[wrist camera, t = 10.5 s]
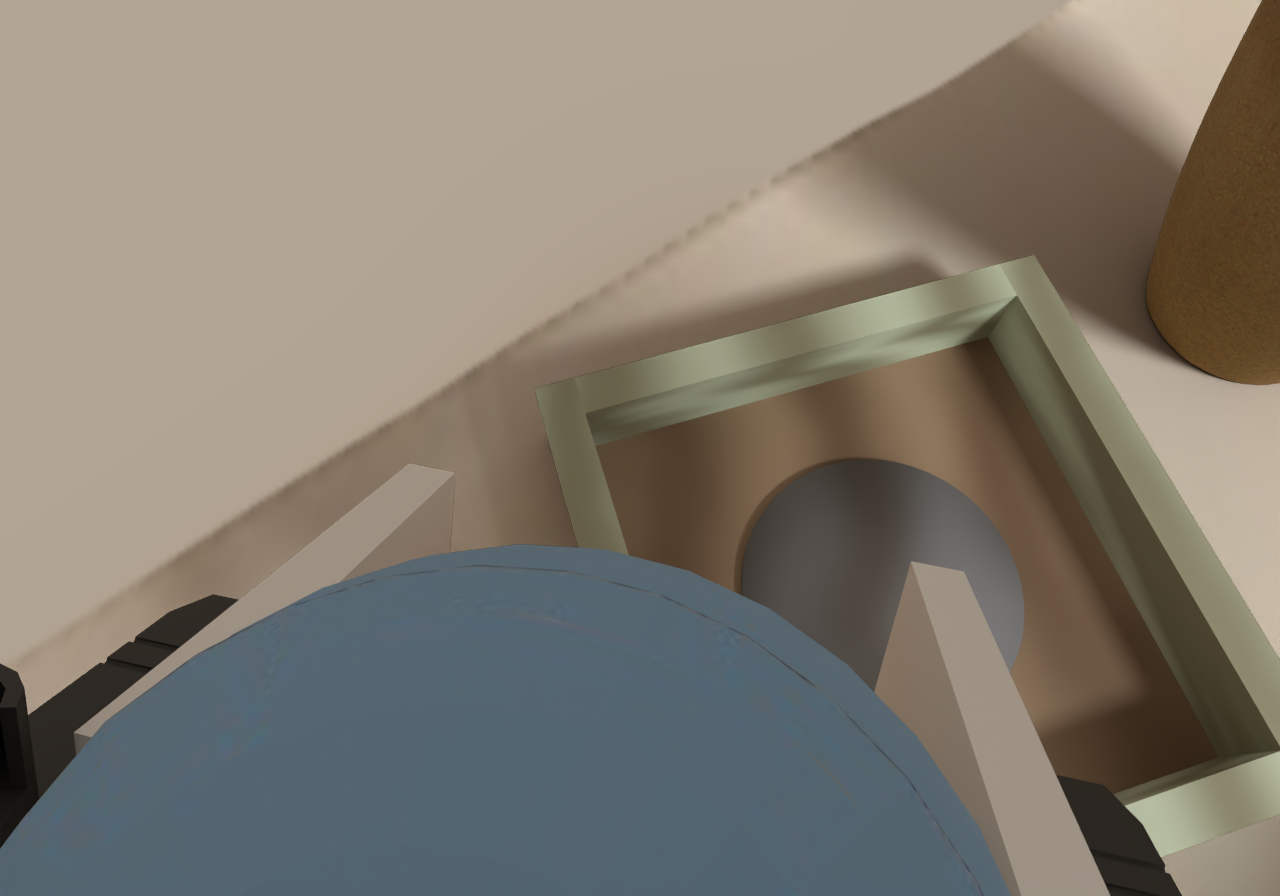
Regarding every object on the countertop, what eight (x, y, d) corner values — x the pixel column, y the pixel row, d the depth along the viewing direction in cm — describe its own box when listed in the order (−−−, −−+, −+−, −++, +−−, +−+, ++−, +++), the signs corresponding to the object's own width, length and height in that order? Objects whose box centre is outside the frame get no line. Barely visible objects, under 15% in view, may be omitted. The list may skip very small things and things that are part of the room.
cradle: (994, 312, 36) (1034, 254, 32) (1264, 790, 28) (1356, 786, 24) (546, 435, 34) (534, 388, 30) (703, 991, 26) (713, 1019, 22)
